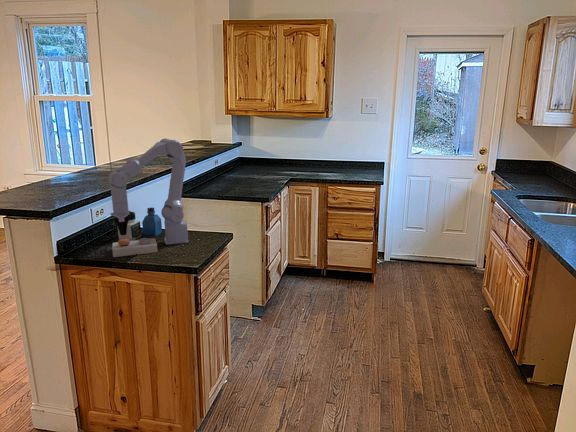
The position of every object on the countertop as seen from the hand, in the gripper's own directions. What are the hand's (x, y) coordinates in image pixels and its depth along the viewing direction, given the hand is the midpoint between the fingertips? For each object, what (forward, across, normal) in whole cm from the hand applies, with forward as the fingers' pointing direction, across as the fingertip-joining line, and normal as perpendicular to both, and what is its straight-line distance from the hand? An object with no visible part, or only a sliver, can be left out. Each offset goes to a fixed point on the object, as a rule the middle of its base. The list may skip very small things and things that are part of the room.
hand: (123, 234), depth 185 cm
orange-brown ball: (+6, 0, 0) cm, 6 cm away
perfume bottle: (+8, -23, +12) cm, 27 cm away
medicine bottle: (+8, -20, +2) cm, 22 cm away
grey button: (+7, 0, +8) cm, 10 cm away
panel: (+7, 0, +4) cm, 8 cm away
